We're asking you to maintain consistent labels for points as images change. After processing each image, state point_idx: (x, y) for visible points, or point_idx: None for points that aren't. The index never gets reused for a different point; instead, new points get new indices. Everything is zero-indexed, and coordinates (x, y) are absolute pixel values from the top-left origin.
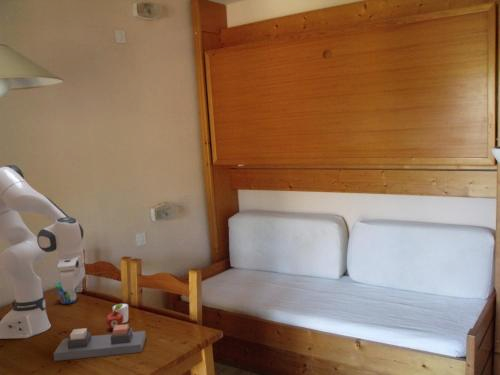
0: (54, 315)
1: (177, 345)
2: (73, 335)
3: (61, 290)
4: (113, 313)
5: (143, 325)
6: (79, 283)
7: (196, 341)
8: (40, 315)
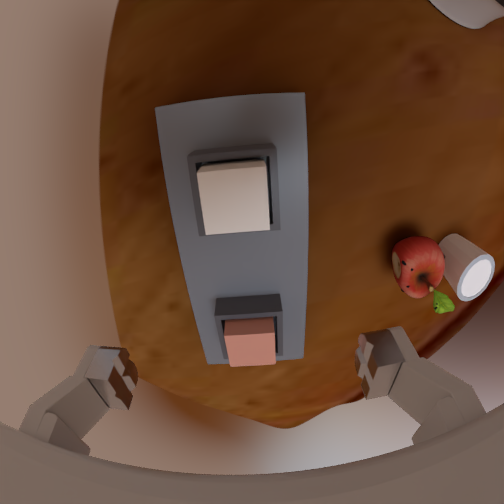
0: None
1: (238, 396)
2: (199, 186)
3: None
4: (432, 274)
5: (391, 317)
6: (422, 406)
7: (252, 414)
8: None
